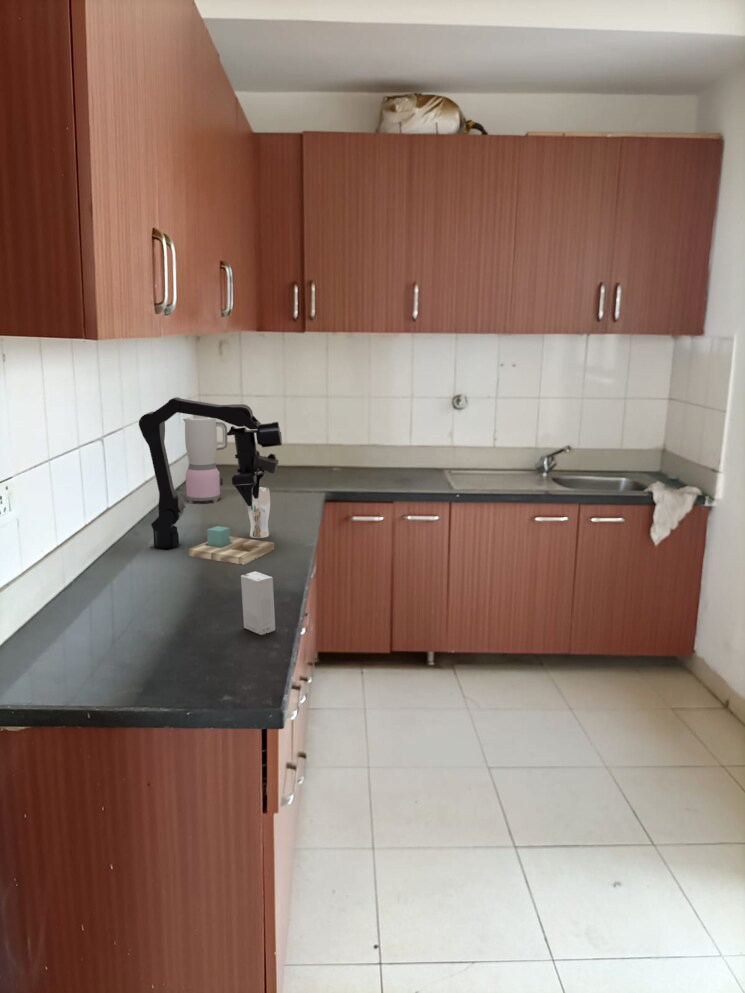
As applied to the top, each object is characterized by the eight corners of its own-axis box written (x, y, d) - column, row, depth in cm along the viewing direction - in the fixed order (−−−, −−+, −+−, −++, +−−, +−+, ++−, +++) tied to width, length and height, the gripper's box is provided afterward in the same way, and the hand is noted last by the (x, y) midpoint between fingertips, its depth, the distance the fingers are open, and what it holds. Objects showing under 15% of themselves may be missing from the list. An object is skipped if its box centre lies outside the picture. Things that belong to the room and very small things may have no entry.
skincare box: (276, 630, 161) (275, 576, 158) (259, 636, 157) (258, 581, 155) (258, 622, 165) (256, 570, 162) (241, 628, 162) (240, 574, 159)
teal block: (208, 551, 214) (207, 529, 213) (217, 547, 218) (216, 526, 217) (221, 553, 212) (220, 531, 211) (230, 549, 216) (229, 527, 215)
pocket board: (189, 557, 210) (188, 549, 209) (222, 543, 224) (222, 535, 224) (243, 566, 203) (243, 557, 202) (274, 551, 217) (274, 542, 217)
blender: (186, 505, 272) (182, 416, 264) (185, 497, 283) (181, 412, 276) (231, 502, 276) (228, 415, 269) (227, 495, 287) (225, 412, 280)
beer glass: (249, 540, 228) (248, 492, 224) (246, 534, 234) (245, 487, 231) (272, 539, 229) (271, 491, 226) (269, 533, 236) (268, 486, 233)
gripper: (268, 452, 204) (275, 507, 208) (279, 441, 222) (286, 492, 226) (227, 455, 205) (235, 511, 208) (242, 444, 223) (249, 495, 227)
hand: (253, 502), depth 217 cm, fingers open, 9 cm apart
